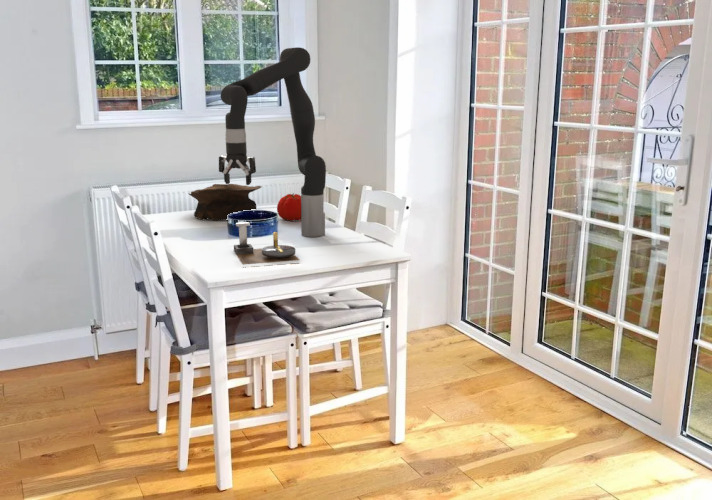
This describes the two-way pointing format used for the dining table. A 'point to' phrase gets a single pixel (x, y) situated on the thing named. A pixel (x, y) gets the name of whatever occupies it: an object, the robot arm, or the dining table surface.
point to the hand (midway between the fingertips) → (237, 184)
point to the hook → (243, 234)
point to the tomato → (290, 207)
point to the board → (258, 256)
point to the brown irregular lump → (222, 200)
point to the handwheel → (278, 249)
